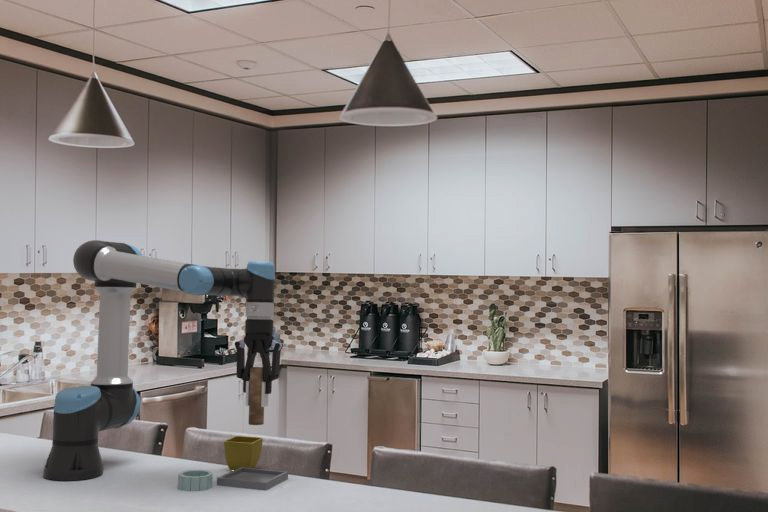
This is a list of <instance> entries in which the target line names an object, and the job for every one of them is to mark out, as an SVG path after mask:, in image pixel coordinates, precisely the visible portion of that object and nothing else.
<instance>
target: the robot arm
mask: <svg viewBox="0 0 768 512" xmlns="http://www.w3.org/2000/svg"><path fill="white" fill-rule="evenodd" d="M72 261H73V267H74V269H75V272H76V273H77V274H78V275H79V276H80V277H82V278H83V279H85V280H88V281H91V282H94V289H95V290H96V291H97V292H98V293H99V304H98V305H99V307H98V309H99V311H98V331H97V333H98V335H97V357H96V358H97V361H96V376H95V378H94V379H93V380H91V382H90V385H80V386H79V385H78V386H72V387H68V388H64V389H62V390H60V391H59V392H57V393H56V395H55V398H54V404H53V419H52V421H53V422H52V423H53V424H52V441H51V442H52V444H51V449H50V452H49V454H48V457H47V460H46V463H45V465H44V467H43V477H44V478H45V479H47V480H53V481H80V480H81V481H82V480H89V479H94V478H97V477H100V476H102V475H103V473H104V464H103V461H102V456H101V452H100V448H99V432H102V431H107V430H108V431H109V430H112V429H114V430H116V429H119V428H121V427H125V426H128V425H129V424H131V423H132V422H133V421H134V420H135V419H136V418H137V416H138V414H139V413H140V408H141V399H140V398H141V397H140V394H138V391H137V390H136V389H135V388H134V387H133V386H134V381H133V379H131V378H130V377H129V375H128V374H129V355H130V354H129V352H130V349H129V346H130V326H131V325H130V323H131V320H130V319H131V318H130V317H131V295H132V293H134V292H135V291H136V289H137V284H140V285H146V286H151V287H157V288H163V289H166V290H167V289H168V290H174V291H177V292H183V293H186V294H188V295H191V296H217V297H236V296H237V297H241V296H242V297H245V317H246V319H245V322H244V324H245V326H244V334H245V335H244V337H243V339H242V340H238V341H234V347H235V350H236V378H237V379H241V380H242V392H243V394H244V393H245V402H244V403H245V407H249V394H250V368H251V367H254V366H255V360H256V356H257V354H259V356H260V358H261V365H262V366H261V367H263V372H264V379H265V380H263V381H264V382H262V396H261V407H264V408H265V407H268V406H269V395H270V394H272V389H273V388H272V386H273V385H272V383H273V381H276V380H278V379H279V378H280V368H281V367H280V364H281V352H282V349H283V346H284V344H283V342H278V341H276V340H275V337H274V336H273V335H274V320H273V319H272V318H274V316H275V306H274V305H275V286H276V285H275V282H276V281H275V280H276V274H275V273H276V271H275V270H276V267H275V264H274V263H273V262H271V261H265V260H262V261H259V260H257V261H256V260H255V261H253V260H252V261H248V262H247V264H246V265H247V266H246V268H228V267H227V268H226V267H217V266H215V267H213V266H207V265H206V266H205V265H199V264H195V263H186V262H183V261H176V260H175V261H174V260H169V259H164V258H163V259H162V258H158V257H153V256H151V257H150V256H145V255H143V254H142V252H141V251H140V249H138V247H136V246H134V245H131V244H128V243H125V242H115V241H107V240H106V241H104V240H98V239H96V240H93V239H92V240H88V241H86V242H83V243H82V244H80V246H78V248H77V249H76V250H75V252H74V255H73V258H72ZM246 347H247V352H246V353H247V354H246V353H245V348H246ZM271 347H272V355H271V354H270V349H271ZM245 355H246V356H247V357H246V356H245ZM270 355H271V356H272V357H271V360H270ZM245 357H246V359H245ZM245 360H246V361H245Z"/></svg>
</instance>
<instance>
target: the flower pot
mask: <svg viewBox="0 0 768 512" xmlns="http://www.w3.org/2000/svg"><path fill="white" fill-rule="evenodd" d="M263 439H264V437H258V436H257V437H256V436H245V435H244V436H241V435H234V436H233V437H231V438H228V439H225V440H224V441H223V444H224V445H223V446H224V456H225V461H226V464H227V466H228V469H230V471H231V470H236V469H239V468H241V467H245V468H255V469H256V466H257V464H258V463H259V460H260V457H261V453H262V448H263V447H262V446H263Z"/></svg>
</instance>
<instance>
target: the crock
mask: <svg viewBox="0 0 768 512" xmlns="http://www.w3.org/2000/svg"><path fill="white" fill-rule="evenodd" d="M213 476H214V475H213V472H212V471H210V470H203V469H189V470H184V471H180V472H179V473H178V482H177V489H178V490H180V491H183V492H184V491H185V492H202V491H208V490H211V489H212V488H213Z"/></svg>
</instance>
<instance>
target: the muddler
mask: <svg viewBox="0 0 768 512" xmlns="http://www.w3.org/2000/svg"><path fill="white" fill-rule="evenodd" d="M263 380H265V379H264V372H263V366H253V367H251V368H250V394H249V406H248V425H249V426H261V425H265V423H264V421H265V407H261V396H262V382H264V381H263Z"/></svg>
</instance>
